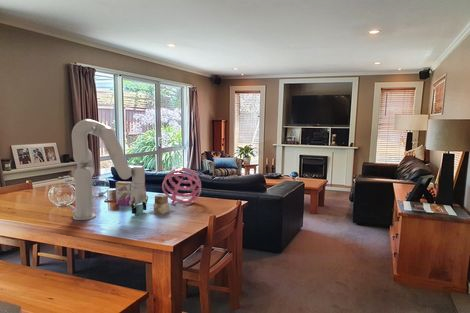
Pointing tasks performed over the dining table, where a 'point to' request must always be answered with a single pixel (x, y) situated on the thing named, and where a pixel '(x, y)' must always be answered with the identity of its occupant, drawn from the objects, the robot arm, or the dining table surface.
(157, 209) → the tower base
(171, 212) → the felt mat
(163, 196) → the tower top
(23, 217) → the dining table surface
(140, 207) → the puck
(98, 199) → the dining table surface
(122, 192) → the candy bar box
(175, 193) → the pink openwork sphere
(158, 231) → the dining table surface
